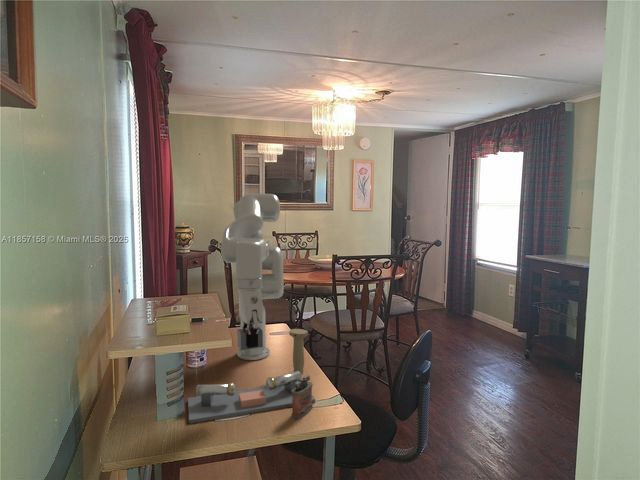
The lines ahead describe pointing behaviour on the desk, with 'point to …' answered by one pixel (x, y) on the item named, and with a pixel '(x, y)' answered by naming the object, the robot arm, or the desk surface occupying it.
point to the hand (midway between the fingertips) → (250, 343)
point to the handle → (298, 348)
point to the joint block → (243, 338)
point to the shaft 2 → (284, 381)
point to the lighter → (302, 397)
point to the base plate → (234, 405)
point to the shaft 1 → (213, 392)
